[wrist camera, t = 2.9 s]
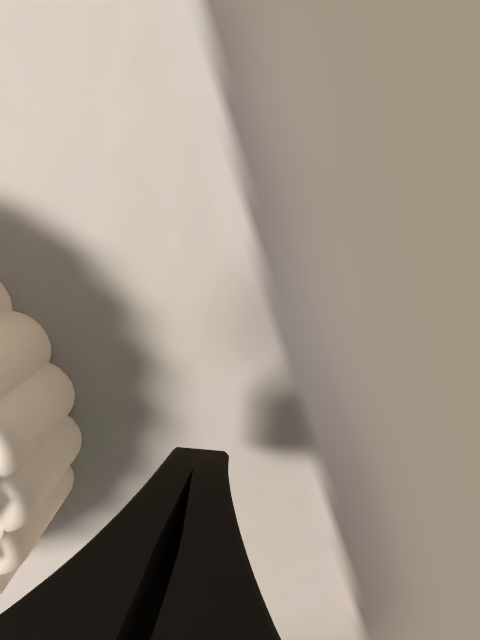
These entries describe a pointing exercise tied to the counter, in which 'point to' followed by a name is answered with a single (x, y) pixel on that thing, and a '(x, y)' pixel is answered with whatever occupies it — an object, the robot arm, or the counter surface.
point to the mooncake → (31, 436)
